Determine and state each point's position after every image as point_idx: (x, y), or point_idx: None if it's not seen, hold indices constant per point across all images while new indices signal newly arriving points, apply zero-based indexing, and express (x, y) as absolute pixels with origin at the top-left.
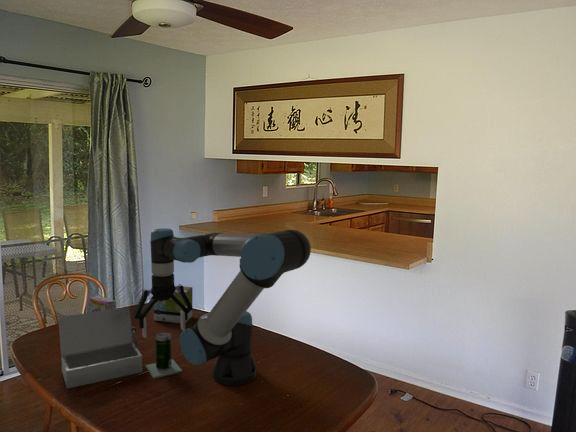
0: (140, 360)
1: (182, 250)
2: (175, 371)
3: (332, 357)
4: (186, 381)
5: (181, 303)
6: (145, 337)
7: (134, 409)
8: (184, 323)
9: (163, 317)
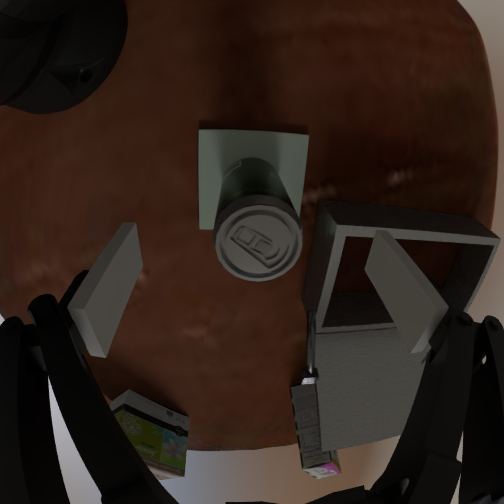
0: (338, 217)
1: None
2: (223, 133)
3: None
4: (213, 55)
5: (59, 401)
6: (383, 231)
7: (409, 14)
8: (109, 249)
9: (170, 417)
